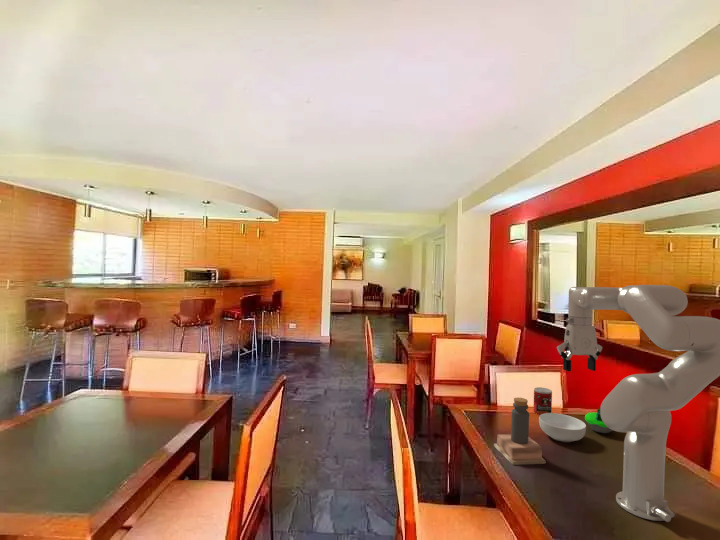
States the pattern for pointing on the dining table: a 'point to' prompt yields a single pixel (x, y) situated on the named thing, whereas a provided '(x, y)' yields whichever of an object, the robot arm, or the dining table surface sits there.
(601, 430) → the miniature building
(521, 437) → the bottle
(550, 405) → the canned food
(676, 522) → the dining table surface
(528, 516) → the dining table surface
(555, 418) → the cereal bowl
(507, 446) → the pedestal
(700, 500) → the dining table surface
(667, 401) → the robot arm
